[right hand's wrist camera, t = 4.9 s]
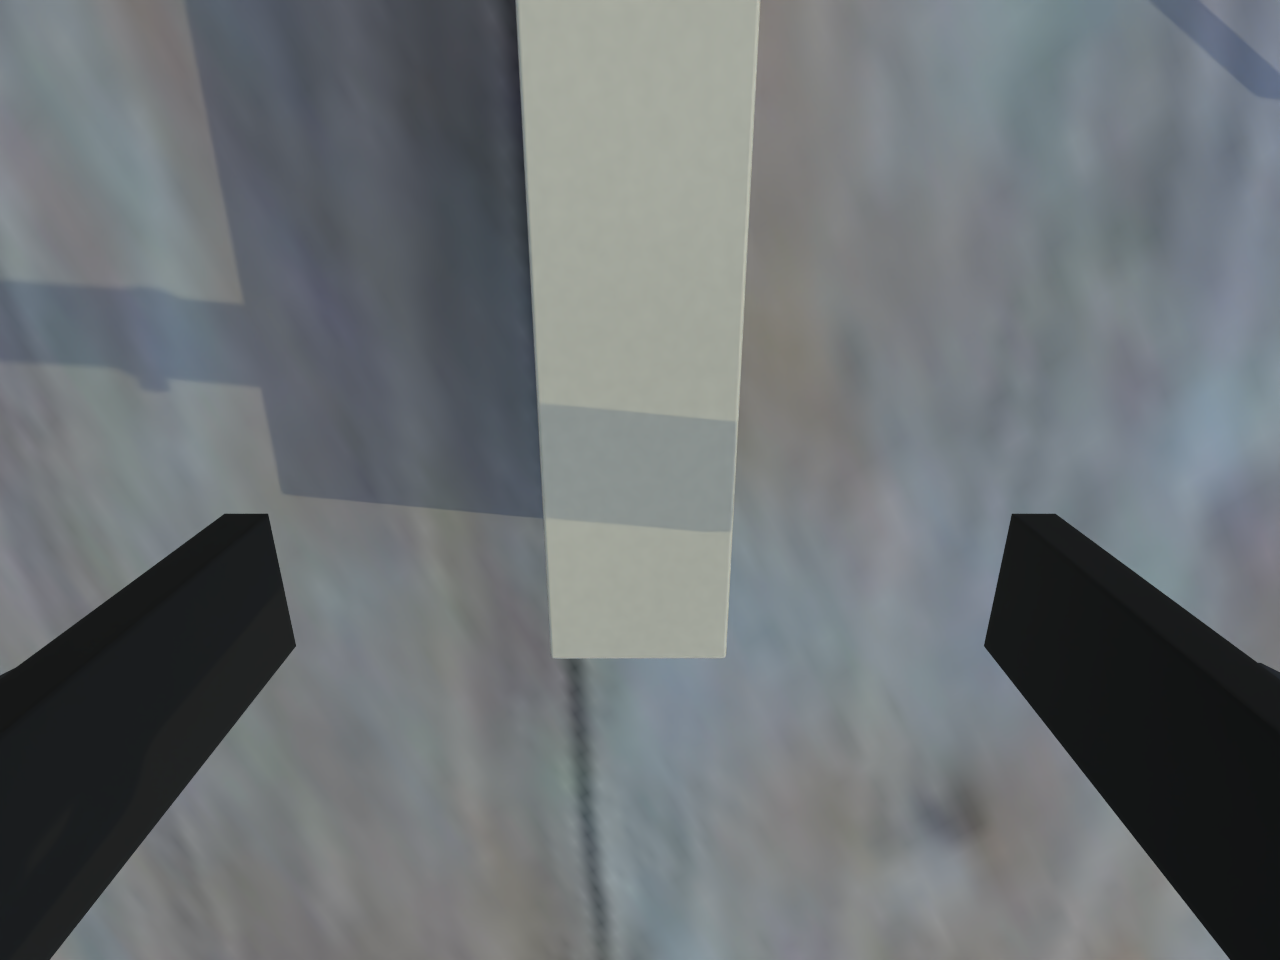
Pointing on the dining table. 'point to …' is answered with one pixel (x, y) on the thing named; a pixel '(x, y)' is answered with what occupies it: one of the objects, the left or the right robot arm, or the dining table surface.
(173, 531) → the dining table surface
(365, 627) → the dining table surface
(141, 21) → the dining table surface
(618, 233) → the bar
